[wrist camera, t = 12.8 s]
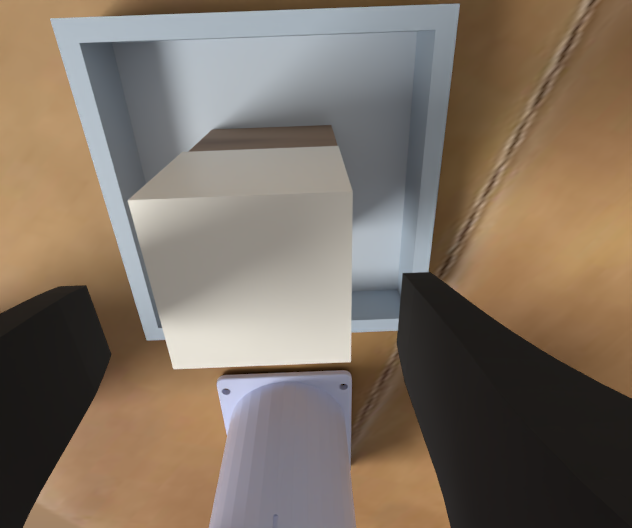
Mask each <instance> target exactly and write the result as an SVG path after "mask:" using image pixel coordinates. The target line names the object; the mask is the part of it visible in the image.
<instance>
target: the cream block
mask: <svg viewBox="0 0 632 528" xmlns="http://www.w3.org/2000/svg"><path fill="white" fill-rule="evenodd" d="M128 204H129V208H130V211H131V215H132V219H133V222H134V226H135V230H136V233H137V237H138V241H139V244H140V248H141V252H142V255H143V259H144V263H145V266H146V270H147V274H148V277H149V281H150V285H151V288H152V292H153V296H154V299H155V303H156V307H157V310H158V314H159V318H160V321H161V325H162V329H163V332H164V336H165V340H166V343H167V347H168V351H169V355H170V358H171V362H172V366H173V369H192V368H217V367H241V366H266V365H291V364H315V363H340V362H351V306H352V213H353V191H352V187H351V184H350V181H349V178H348V175H347V172H346V168H345V165H344V162H343V159H342V156H341V152H340V149H339V146H321V147H295V148H270V149H244V150H219V151H193V152H181V153H180V154H179V155H178V156H177V157H176V158H175V159H174V160H172V161H171V162H170V163H169V164H168V165H167V166H166V167H165V168H163V169H162V170H161V171H160V172H159V173H158V174H157V175H156V176H154V177H153V178H152V179H151V180H150V181H149V182H148V183H146V184H145V185H144V186H143V187H142V188H141V189H140V190H139V191H137V192H136V193H135V194H134V195H133V196H132V197H131V198H130V199H128Z"/></svg>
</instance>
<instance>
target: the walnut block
mask: <svg viewBox="0 0 632 528" xmlns="http://www.w3.org/2000/svg"><path fill="white" fill-rule="evenodd" d="M321 146H338V145H337V142H336V139H335V135H334V132H333V129H332V125H316V126H290V127H263V128H237V129H212V130H211V131H210V132H209V133H208V134H207V135H206V136H204V137H203V138H202V139H201V140H200V141H199V142H198V143H197V144H196V145H195V146H194V147H193V148H192V149H190V150H189V151H188V152H193V151H219V150H244V149H270V148H295V147H321Z"/></svg>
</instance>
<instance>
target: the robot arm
mask: <svg viewBox="0 0 632 528" xmlns="http://www.w3.org/2000/svg"><path fill="white" fill-rule="evenodd" d="M397 347H398V352H399V357H400V362H401V367H402V372H403V376H404V381H405V384H406V387H407V390H408V393H409V396H410V399H411V402H412V405H413V408H414V411H415V414H416V417H417V419H418V422H419V425H420V428H421V431H422V434H423V437H424V440H425V442H426V445H427V448H428V451H429V454H430V457H431V460H432V463H433V465H434V468H435V471H436V474H437V477H438V481H439V484H440V487H441V491H442V494H443V497H444V501H445V505H446V510H447V514H448V518H449V522H450V526H451V528H632V398H629V397H627V396H625V395H623V394H621V393H619V392H617V391H615V390H613V389H611V388H609V387H607V386H605V385H603V384H601V383H599V382H597V381H595V380H594V379H592V378H590V377H588V376H586V375H584V374H583V373H581V372H579V371H577V370H575V369H573V368H572V367H570V366H568V365H566V364H564V363H562V362H561V361H559V360H557V359H555V358H554V357H552V356H550V355H549V354H547V353H545V352H544V351H542V350H540V349H539V348H537V347H536V346H534V345H532V344H531V343H529V342H528V341H526V340H525V339H523V338H521V337H520V336H518V335H517V334H515V333H514V332H512V331H511V330H509V329H508V328H506V327H505V326H503V325H502V324H500V323H499V322H497V321H496V320H494V319H493V318H492V317H490V316H489V315H487V314H486V313H485V312H483V311H482V310H480V309H479V308H478V307H476V306H475V305H474V304H472V303H471V302H470V301H468V300H467V299H466V298H464V297H463V296H462V295H460V294H459V293H458V292H456V291H455V290H454V289H452V288H451V287H450V286H448V285H447V284H446V283H444V282H443V281H442V280H440V279H439V278H437V277H436V276H435V275H433V274H432V273H430V272H418V273H403V274H402V286H401V298H400V310H399V323H398V335H397ZM110 357H111V352H110V350H109V347H108V344H107V341H106V339H105V336H104V333H103V330H102V328H101V325H100V322H99V319H98V317H97V314H96V311H95V308H94V306H93V303H92V300H91V297H90V295H89V292H88V289H87V286H86V285H85V286H60V287H57V288H54V289H52V290H49V291H47V292H44V293H42V294H40V295H38V296H35V297H33V298H31V299H29V300H27V301H25V302H23V303H21V304H19V305H17V306H15V307H13V308H11V309H9V310H7V311H5V312H3V313H1V314H0V528H23V526H24V524H25V521H26V519H27V517H28V515H29V513H30V511H31V509H32V507H33V505H34V503H35V502H36V500H37V498H38V496H39V494H40V492H41V490H42V488H43V487H44V485H45V483H46V481H47V480H48V478H49V476H50V474H51V473H52V471H53V469H54V467H55V466H56V464H57V462H58V460H59V459H60V457H61V455H62V454H63V452H64V450H65V448H66V447H67V445H68V443H69V441H70V440H71V438H72V436H73V434H74V433H75V431H76V429H77V427H78V426H79V424H80V422H81V420H82V419H83V417H84V415H85V413H86V411H87V410H88V408H89V406H90V404H91V402H92V401H93V399H94V397H95V395H96V393H97V391H98V388H99V386H100V383H101V381H102V379H103V376H104V373H105V371H106V368H107V365H108V363H109V360H110ZM341 384H346V385H341ZM225 388H226V389H229V390H226V389H225ZM217 389H218V394H219V399H220V404H221V409H222V413H223V418H224V423H225V428H226V433H227V440H226V445H225V450H224V455H223V460H222V465H221V470H220V475H219V480H218V485H217V490H216V495H215V500H214V505H213V510H212V515H211V520H210V525H209V528H356V522H355V512H354V502H353V493H352V483H351V473H350V470H351V407H352V377H351V374H350V372H348V371H345V370H338V371H313V372H287V373H262V374H237V375H222V376H220V377H219V378H218V380H217Z"/></svg>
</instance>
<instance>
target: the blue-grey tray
mask: <svg viewBox="0 0 632 528" xmlns="http://www.w3.org/2000/svg"><path fill="white" fill-rule="evenodd" d="M459 8H460V4H433V5H406V6H379V7H351V8H324V9H297V10H270V11H243V12H215V13H188V14H161V15H134V16H106V17H79V18H52V19H50V20H51V23H52V27H53V30H54V33H55V37H56V40H57V43H58V47H59V50H60V53H61V57H62V60H63V63H64V67H65V70H66V73H67V77H68V80H69V83H70V87H71V90H72V93H73V97H74V100H75V103H76V107H77V110H78V113H79V117H80V120H81V123H82V127H83V130H84V133H85V137H86V140H87V143H88V147H89V150H90V153H91V157H92V160H93V163H94V167H95V170H96V173H97V177H98V180H99V183H100V187H101V190H102V193H103V197H104V200H105V203H106V207H107V210H108V213H109V217H110V220H111V223H112V227H113V230H114V233H115V237H116V240H117V243H118V247H119V250H120V253H121V257H122V260H123V263H124V267H125V270H126V273H127V277H128V280H129V283H130V287H131V290H132V293H133V297H134V300H135V303H136V307H137V310H138V313H139V317H140V320H141V323H142V327H143V330H144V333H145V337H146V340H147V341H148V340H165V336H164V332H163V329H162V325H161V321H160V318H159V314H158V310H157V307H156V303H155V299H154V296H153V292H152V288H151V285H150V281H149V277H148V274H147V270H146V266H145V263H144V259H143V255H142V252H141V248H140V244H139V241H138V237H137V233H136V230H135V226H134V222H133V219H132V215H131V211H130V208H129V204H128V199H130V198H131V197H132V196H133V195H134V194H135V193H136V192H137V191H139V190H140V189H141V188H142V187H143V186H144V185H145V184H146V183H148V182H149V181H150V180H151V179H152V178H153V177H154V176H156V175H157V174H158V173H159V172H160V171H161V170H162V169H163V168H165V167H166V166H167V165H168V164H169V163H170V162H171V161H172V160H174V159H175V158H176V157H177V156H178V155H179V154H180V153H181V152H188V151H189V150H190V149H192V148H193V147H194V146H195V145H196V144H197V143H198V142H199V141H200V140H201V139H202V138H203V137H204V136H206V135H207V134H208V133H209V132H210V131H211V130H212V129H237V128H263V127H290V126H316V125H332V129H333V132H334V135H335V139H336V142H337V145H338V146H339V149H340V152H341V156H342V159H343V162H344V165H345V168H346V172H347V175H348V178H349V181H350V184H351V187H352V191H353V213H352V306H351V332H375V331H398V323H399V310H400V298H401V286H402V274H403V273H418V272H428V271H429V263H430V254H431V246H432V237H433V229H434V220H435V212H436V203H437V195H438V186H439V178H440V169H441V161H442V153H443V144H444V136H445V127H446V119H447V110H448V102H449V93H450V85H451V76H452V68H453V59H454V51H455V42H456V34H457V25H458V17H459Z"/></svg>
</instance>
